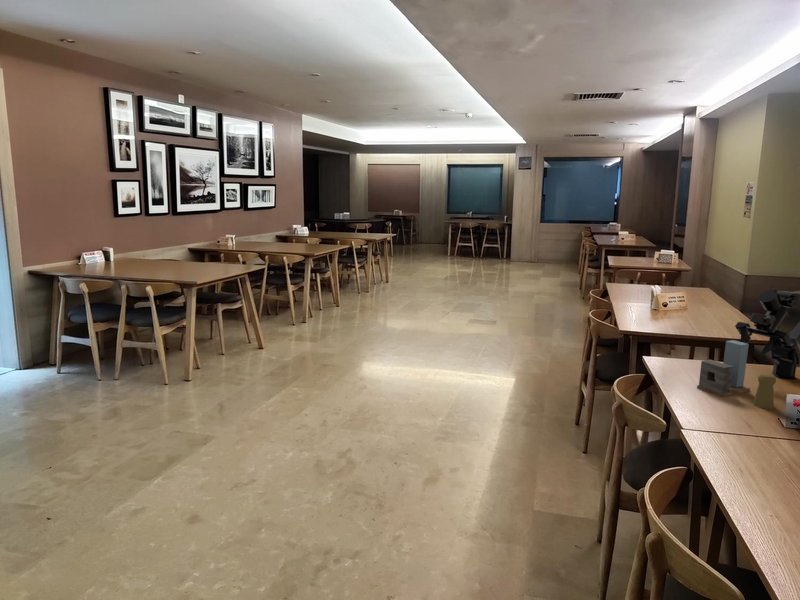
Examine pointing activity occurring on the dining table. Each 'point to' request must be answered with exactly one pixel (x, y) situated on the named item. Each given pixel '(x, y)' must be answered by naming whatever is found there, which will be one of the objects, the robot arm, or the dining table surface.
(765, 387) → the olive flared post
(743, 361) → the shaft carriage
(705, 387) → the bearing stand
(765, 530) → the dining table surface
